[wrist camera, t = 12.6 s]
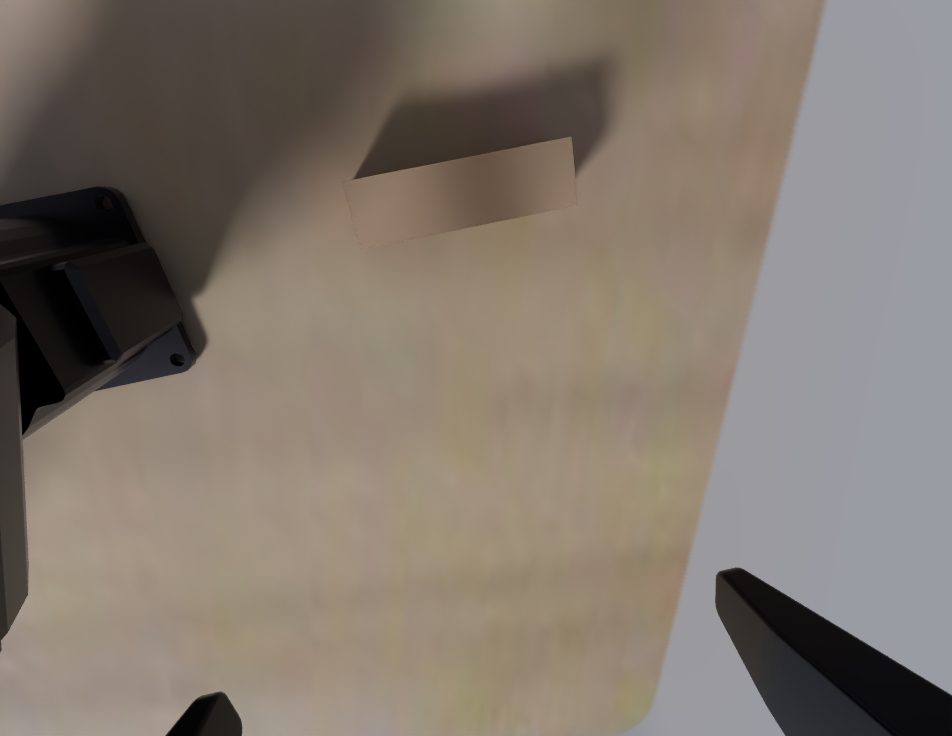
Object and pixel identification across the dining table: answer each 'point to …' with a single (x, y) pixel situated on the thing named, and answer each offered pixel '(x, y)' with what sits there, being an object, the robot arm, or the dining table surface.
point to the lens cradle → (462, 192)
